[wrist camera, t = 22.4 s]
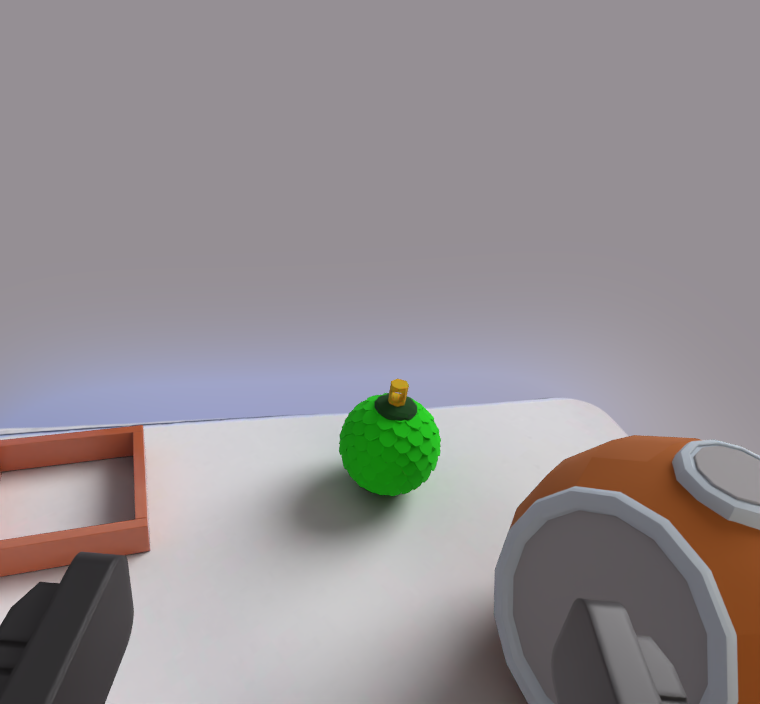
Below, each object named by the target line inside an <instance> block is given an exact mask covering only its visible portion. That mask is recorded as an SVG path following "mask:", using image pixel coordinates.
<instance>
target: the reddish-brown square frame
mask: <svg viewBox="0 0 760 704" xmlns="http://www.w3.org/2000/svg"><path fill="white" fill-rule="evenodd" d="M126 456H133V462H134V501H135V519H134V520H128V521H121V522H115V523H109V524H102V525H96V526H89V527H83V528H76V529H70V530H64V531H57V532H51V533H44V534H38V535H31V536H25V537H18V538H12V539H6V540H0V577H2V576H8V575H14V574H20V573H25V572H31V571H37V570H43V569H48V568H54V567H60V566H66V565H70V564H71V562H72V560H73V559H74V557H75V556H76V555H77V554H78V553H80V552H92V553H103V554H114V555H129V554H135V553H141V552H146V551H150V535H149V515H148V495H147V475H146V455H145V441H144V430H143V425H139V426H129V427H120V428H111V429H101V430H92V431H82V432H73V433H63V434H54V435H45V436H35V437H26V438H16V439H7V440H0V479H1V475H2V472H3V471H11V470H19V469H27V468H36V467H44V466H52V465H60V464H68V463H77V462H85V461H93V460H101V459H110V458H118V457H126Z"/></svg>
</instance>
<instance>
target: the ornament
mask: <svg viewBox="0 0 760 704" xmlns="http://www.w3.org/2000/svg"><path fill="white" fill-rule="evenodd" d="M408 387H409V385H408V383H407V381H404V380H401V379H396V380H393V381H391V386H390V392H389V393H385V394H383V395H376V396H372V397H369V398H368V399H367V400H365V401H363V402H361V403H359V404H358V405H357V406H356V407H355V408H354V410H352V411H351V412H350V413H349V416H348V417H347V418H346V419H345V423H344V425H343V426H342V431H341V433H340V443H339V444H340V447H339V452H340V455H342V457H341V458H342V461H343V466H344V468H345V469H347V470H348V473H349V475H350V477H352V479H353V480H354V481H356V482H357V484H358V485H359V486H360V487H362V488H365V489H366V490H368V491H370V492H372V493H376V494H379V495H390V496H395V495H399V494H400V493H402V494H406V493H409V492H410V491H411V490H415V489H416V488H418V487H419V486H420V485H421V483H422V482H425V481H426V480H427V479H428V477H429V475H430V473H431V470H432V471H434V469H435V467H436V464H437V461H438V456H440V447H441V446H440V442H441V439H440V436H439V429H438V428H437V426H436V424H435V422H434V421H433V420H434V418H433V416H432V415H431V414H430V413H429V412H428V411H427V410H426V409H425V408H424V407H423V406H422V405H421V404H420V403H418V402H416V401H415V400H413V399H412V398H410V397H407V391H408ZM395 392H399V393H402V394H398V393H395Z"/></svg>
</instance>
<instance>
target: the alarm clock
mask: <svg viewBox="0 0 760 704" xmlns="http://www.w3.org/2000/svg"><path fill="white" fill-rule="evenodd" d="M577 598H584V599H595V600H606V601H617V602H620V603H621V604H622V605H623V606H624V607H625V609H626V611H627V613H628V615H629V618H630V621H631V623H632V626H633V628H634V631H635V634H636V636H647V637H651V638H652V639H653V640H654V642H655V643H656V644H657V645H658V647H659V648H660V649H661V650H662V652H663V653H664V654H665V655H666V657H667V658H668V659H669V660H670V662H671V663H672V664H673V665H674V667H675V670H676V672H677V675H678V677H679V679H680V682H681V684H682V686H683V689H684V691H685V693H686V696H687V703H688V704H760V456H759V455H757V454H755V453H753V452H751V451H749V450H747V449H745V448H743V447H741V446H737V445H733V444H729V443H725V442H721V441H717V440H700V439H696V438H677V437H657V436H637V435H634V436H629V437H625V438H620V439H616V440H612V441H609V442H607V443H604V444H602V445H599V446H597V447H594V448H592V449H589V450H587V451H584V452H582V453H579V454H577V455H575V456H572V457H570V458H567V459H565V460H563V461H562V462H561V463H560V464H559V465H558V466H556V467H555V468H554V469H553V470H552V471H551V472H550V473H549V474H548V475H547V476H546V477H545V478H544V479H543V480H542V481H541V482H540V483H539V484H538V486H537V487H536V488H535V489H534V490H533V491H532V492H531V493H530V494H529V495H528V497H527V498H526V499H525V500H524V501H523V502H522V503H521V504H520V505H519V506H518V508H517V509H516V512H515V515H514V518H513V521H512V524H511V526H510V529H509V531H508V534H507V537H506V540H505V543H504V545H503V548H502V551H501V554H500V557H499V560H498V562H497V565H496V568H495V590H494V617H495V621H496V625H497V629H498V633H499V637H500V641H501V645H502V648H503V652H504V656H505V660H506V664H507V666H508V667H509V669H510V671H511V673H512V675H513V677H514V678H515V680H516V682H517V684H518V686H519V688H520V690H521V691H522V693H523V695H524V697H525V699H526V701H527V702H528V704H558V702H557V698H556V694H555V690H554V685H553V680H552V671H551V660H552V652H553V648H554V645H555V643H556V640H557V638H558V636H559V634H560V631H561V629H562V627H563V625H564V622H565V620H566V618H567V616H568V613H569V611H570V609H571V607H572V604H573V602H574V601H575V600H576V599H577Z"/></svg>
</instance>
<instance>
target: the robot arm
mask: <svg viewBox="0 0 760 704" xmlns="http://www.w3.org/2000/svg"><path fill="white" fill-rule="evenodd" d="M133 616H134V608H133V600H132V592H131V584H130V576H129V568H128V561H127V558H126V556H124V555H114V554H103V553H92V552H80V553H78V554H77V555H76V556H75V557H74V559H73V560H72V562H71V564H70V565H69V567H68V569H67V571H66V573H65V575H64V576H63V578H62V580H61V582H60V584H59V583H47V582H39V583H38V584H37V585H36V586H35V587H34V588H32V589H31V590H30V591H29V592H28V593H27V594H26V595H25V596H24V597H22V598H21V599H20V600H19V601H18V602H17V603H16V604H15V605H13V606H12V607H11V609H10V610H9V612H8V614H7V615H6V617H5V619H4V620H3V622H2V624H1V625H0V704H105V701H106V699H107V696H108V694H109V691H110V689H111V686H112V684H113V681H114V678H115V676H116V673H117V671H118V668H119V666H120V663H121V660H122V658H123V655H124V653H125V650H126V647H127V645H128V641H129V638H130V634H131V630H132V624H133ZM551 671H552V680H553V685H554V690H555V694H556V698H557V702H558V704H688V703H687V696H686V693H685V691H684V689H683V686H682V684H681V682H680V679H679V677H678V675H677V672H676V670H675V667H674V665H673V664H672V663H671V662H670V660H669V659H668V658H667V657H666V655H665V654H664V653H663V652H662V650H661V649H660V648H659V647H658V645H657V644H656V643H655V642H654V640H653V639H652V638H651V637H647V636H636V634H635V631H634V628H633V626H632V623H631V621H630V618H629V615H628V613H627V611H626V609H625V607H624V606H623V605H622V604H621V603H620V602H617V601H606V600H595V599H584V598H577V599H576V600H575V601H574V602H573V604H572V607H571V609H570V611H569V613H568V616H567V618H566V620H565V622H564V625H563V627H562V629H561V631H560V634H559V636H558V638H557V640H556V643H555V645H554V648H553V652H552V660H551Z"/></svg>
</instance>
